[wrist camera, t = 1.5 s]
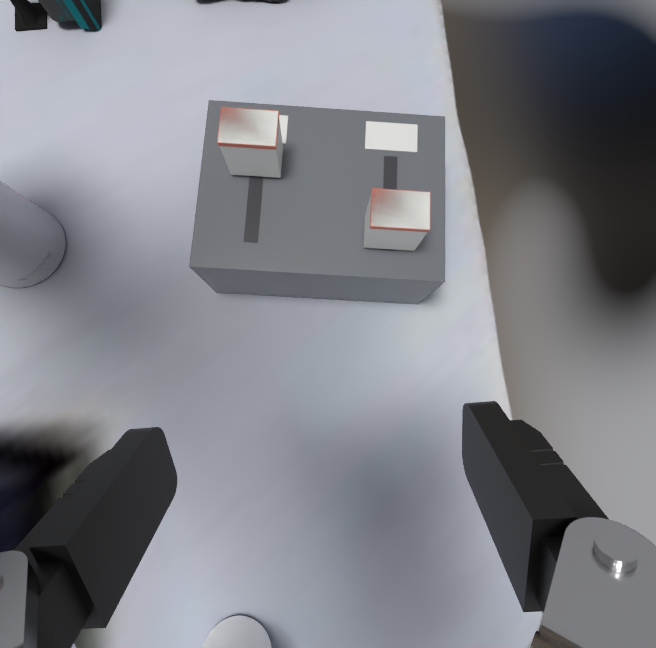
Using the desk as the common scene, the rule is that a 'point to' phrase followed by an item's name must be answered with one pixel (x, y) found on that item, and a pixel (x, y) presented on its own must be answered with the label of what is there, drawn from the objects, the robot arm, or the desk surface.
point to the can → (237, 634)
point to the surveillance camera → (57, 13)
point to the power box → (321, 208)
